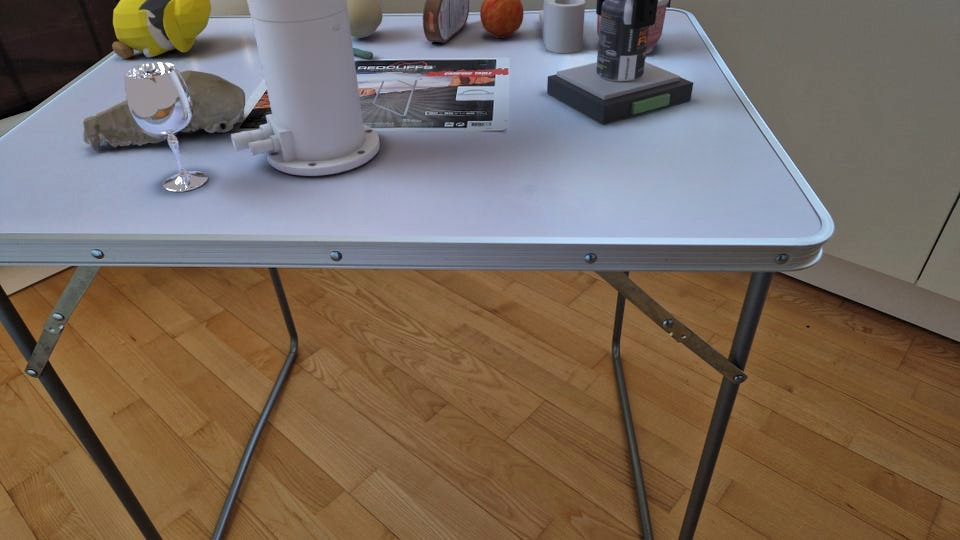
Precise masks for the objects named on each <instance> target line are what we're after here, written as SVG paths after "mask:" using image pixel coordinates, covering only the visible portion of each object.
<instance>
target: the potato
mask: <svg viewBox="0 0 960 540" xmlns="http://www.w3.org/2000/svg"><path fill="white" fill-rule="evenodd" d="M346 2H347V9H348V16H349V23H350V31H351V37H352V38H353V37H354V38H358V39H359V38H361V39H362V38H368V37H370V36H371V35H373V34H374V33H375V32H376V30H377V29H378V28H379V27H380V25H381V24H382V21H383V11H382V8H381V6H380V4H379V1H378V0H346Z"/></svg>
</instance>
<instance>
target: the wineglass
mask: <svg viewBox="0 0 960 540" xmlns="http://www.w3.org/2000/svg"><path fill="white" fill-rule="evenodd" d="M180 72H181V71H179V69H178V67H177V66H176V65H175V64H174V63H171V62H165V61H164V62H163V61H162V62H161V61H160V62H159V61H158V62H149V63H143V64H139V65H136V66H133V67H130V68H128V69H127V70H126V71H125V72H124V73H123V77H124V91H125V98H126V100H127V103H128V106H129V109H130V112H131V115H132V117H133V118H134V120H135V122H136V123H137V124H138V125H139V126H140V127H141V128H142V129H144V130H145V131H147V132H150V133H153V134H159V135H168V138H167V139H166V140H167V144H168V146H169V148H170V149H171V151H172V153H173V155H174V157H175V161H176V163H177V166H178V167H177V168H178V173H175V174H173V175H171V176H169V177H168V178H167V179H165V180H164V182H163V185H162V186H163V189H165V190H166V191H168V192H171V193H183V192H188V191H192V190H195V189H197V188H200V187H202V186H203V185H204V184H206V183H207V181H208V179H209V177H208V175H207V174H206V173H205V172H202V171H197V170H190V171H189V170H188V171H187V169H186V168H185V165H184V164H183V161H182V158H181V154H180V144H179V143H180V142H179V139H178V137H177V135H174V133H176V132H177V133H178V132H181V131H180V130H182V129H183V128H185V127H186V126H187V125H188V124H189V123H190V121H191V119H192V117H193V102H192V98H191V95H190V92H189V90H188V88H187V86H186V84H185V82H184V80H183V78H182V76H181V74H180Z"/></svg>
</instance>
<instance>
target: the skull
mask: <svg viewBox="0 0 960 540" xmlns="http://www.w3.org/2000/svg"><path fill="white" fill-rule="evenodd" d="M179 72H180V74H181V76H182V78H183V80H184V82H185V84H186V86H187V88H188V90H189V92H190V95H191V98H192V102H193V117H192V119H191V121H190V123H189V124H188V125H187V126H186V127H185V128H183V129H182V130H180V131H179V132H181V133H191V131H192V132H197V131H198V130H204V131H205V132H207V133H210V134H214V133H223V134H226V133H228V132H230V131H231V130H232V129H234V125H236V124H242V123H243V120H244V116H245V106H246V92H245V91H244V89H243V88H241V87H240V86H239V85H236V84H234V83H232V82H231V81H229V80H227V79H225V78H223V77H221V76H220V75H216V74H213V73H209V72H203V71H197V70H188V69H187V70H184V71H179ZM82 125H83V133H82V135H83V136H82V138H83V142H84V143H86V144H87V145H90V146H91V148H92V149H93V151H96V152H97V151H100V148H101V144H102V143H103V142H106V143H108V144H109V145H110V146H112V147H113V148H117V147H118V146H120V147H125V146H127V147H128V146H130V145H133V146H135V145H137V146H140V147H142V145H146V144H148V143H150V144H158V143H159V144H160V143H161V142H164V141H165V140H167V138H168V135H159V134H153V133H150V132H147V131H145V130H144V129H142V128H141V127H140V126H139V125H138V124H137V123H136V122H135V120H134V118H133V117H132V115H131V112H130V109H129V106H128V103H127V99H125V100H123V101H121V102H118V103H117V104H115V105H113V106H110V107H108V108H107V109H105V110H103V111H100V112H98V113H96V114H95V115H91V116H88V117H86V118H84V120H83V122H82ZM177 134H178V132H176V133H174V135H175V136H177Z"/></svg>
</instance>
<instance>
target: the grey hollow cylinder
mask: <svg viewBox="0 0 960 540" xmlns="http://www.w3.org/2000/svg"><path fill="white" fill-rule="evenodd" d="M585 10H586V0H543V9H540V10H538V25H539V28H540V32H541V37H542V40H543V43H544V47H545V50H546V51H548V52H551V53H555V54H573V53H578V52H580V51H582V50H583V44H584V42H583V41H584V27H585V25H584V24H585V13H586V11H585Z"/></svg>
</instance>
